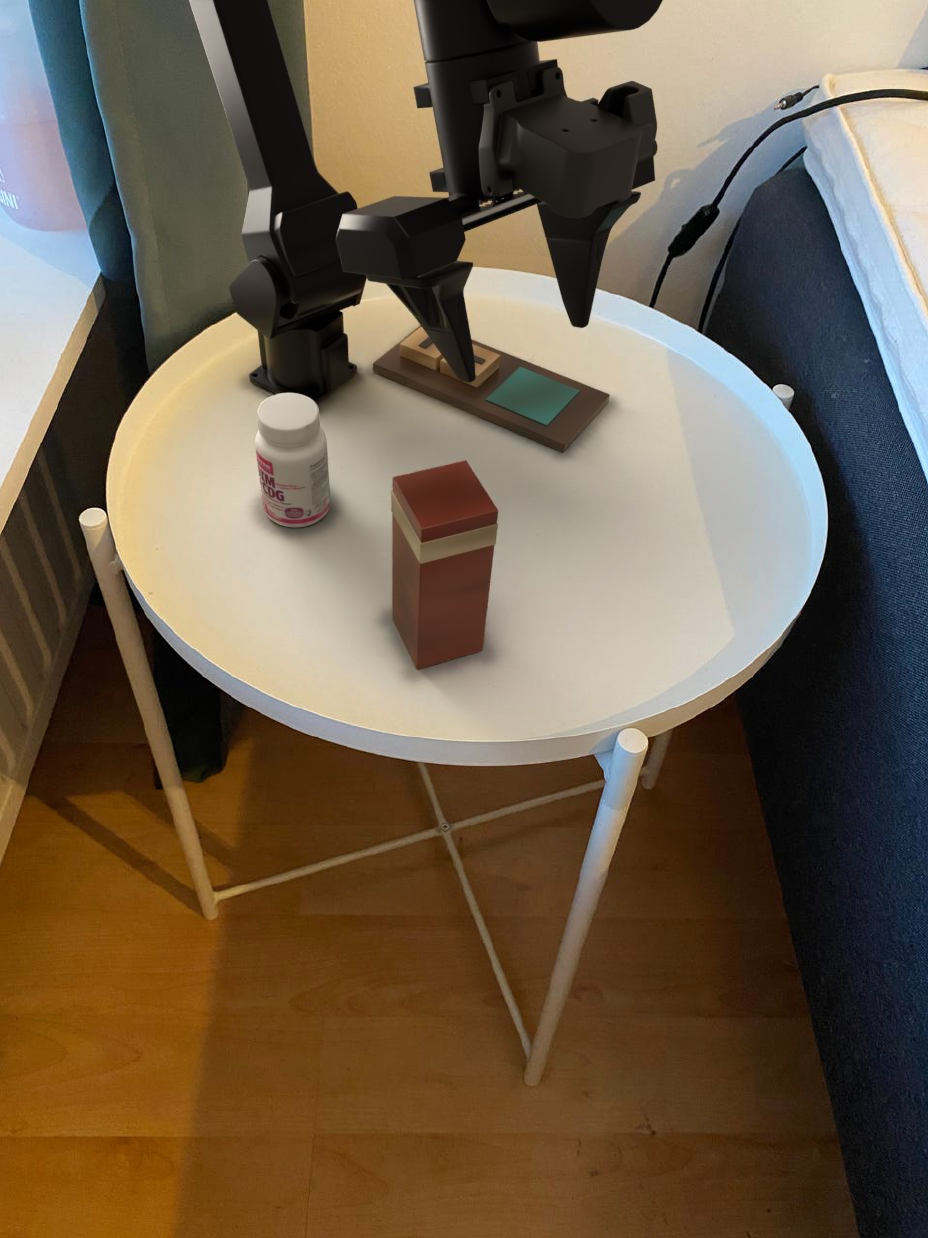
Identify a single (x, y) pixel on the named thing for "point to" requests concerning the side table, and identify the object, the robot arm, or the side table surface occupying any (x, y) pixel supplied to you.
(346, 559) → the side table surface
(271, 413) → the pill bottle
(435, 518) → the reddish-brown banded box
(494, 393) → the word board
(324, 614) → the side table surface
